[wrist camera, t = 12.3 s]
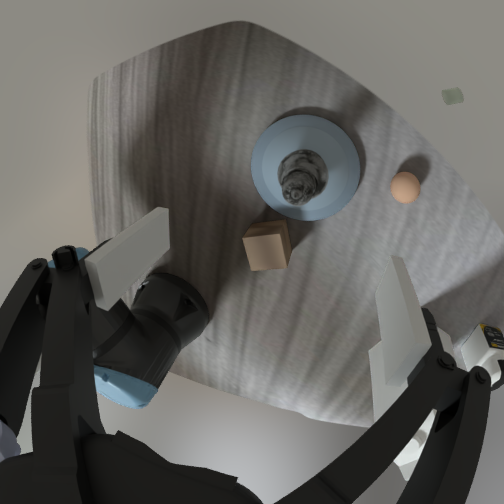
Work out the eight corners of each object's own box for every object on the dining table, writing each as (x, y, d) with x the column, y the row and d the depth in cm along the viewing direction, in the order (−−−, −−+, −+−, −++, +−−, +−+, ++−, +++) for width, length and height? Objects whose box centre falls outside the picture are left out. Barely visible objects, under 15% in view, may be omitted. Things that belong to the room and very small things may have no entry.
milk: (406, 370, 47) (413, 487, 25) (368, 350, 47) (365, 482, 25) (449, 335, 40) (478, 459, 18) (413, 310, 40) (440, 455, 18)
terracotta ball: (384, 193, 33) (390, 203, 30) (391, 165, 31) (398, 171, 28) (410, 201, 33) (418, 211, 29) (418, 173, 31) (427, 180, 27)
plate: (248, 206, 39) (245, 209, 38) (259, 107, 32) (256, 107, 31) (346, 227, 37) (346, 231, 36) (368, 127, 30) (370, 128, 29)
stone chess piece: (282, 145, 33) (261, 161, 23) (329, 148, 31) (332, 166, 21) (281, 190, 36) (261, 225, 25) (326, 193, 34) (326, 232, 24)
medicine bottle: (499, 327, 36) (519, 371, 26) (480, 352, 40) (495, 396, 30) (479, 322, 37) (498, 369, 27) (459, 348, 41) (473, 395, 31)
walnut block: (259, 253, 43) (251, 270, 39) (252, 223, 41) (242, 238, 36) (292, 250, 41) (287, 268, 37) (285, 218, 39) (279, 233, 35)
